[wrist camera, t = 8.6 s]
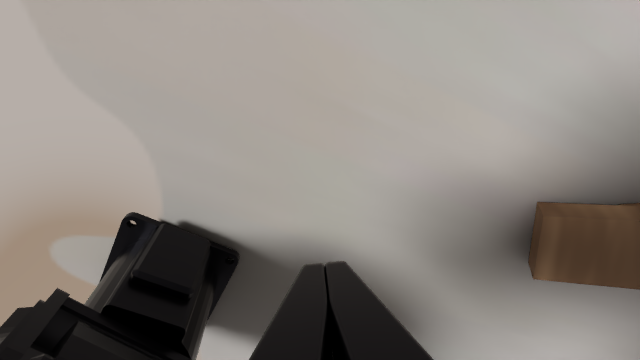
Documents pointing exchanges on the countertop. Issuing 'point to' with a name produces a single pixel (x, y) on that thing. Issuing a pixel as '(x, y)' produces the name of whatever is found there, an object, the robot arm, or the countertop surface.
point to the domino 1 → (586, 244)
